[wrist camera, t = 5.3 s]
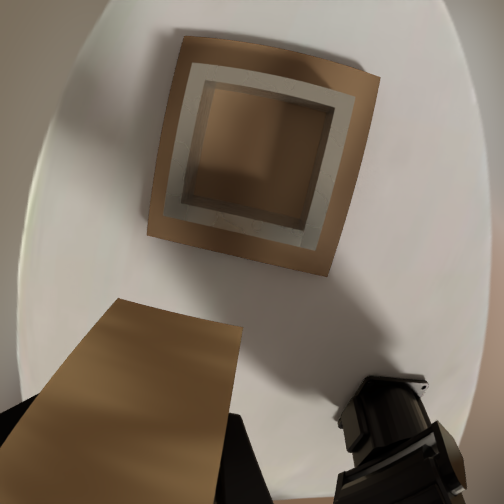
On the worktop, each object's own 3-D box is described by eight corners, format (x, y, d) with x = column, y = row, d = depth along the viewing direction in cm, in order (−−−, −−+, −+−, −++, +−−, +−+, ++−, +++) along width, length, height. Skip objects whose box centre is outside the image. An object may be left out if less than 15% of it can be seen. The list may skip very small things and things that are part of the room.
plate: (374, 81, 15) (380, 77, 14) (324, 269, 19) (327, 277, 18) (189, 41, 15) (184, 35, 14) (153, 229, 19) (146, 235, 18)
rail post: (242, 327, 9) (192, 620, 1) (225, 410, 10) (188, 611, 3) (117, 298, 9) (-37, 509, 1) (124, 384, 10) (40, 557, 3)
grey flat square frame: (343, 103, 14) (355, 96, 12) (310, 235, 17) (315, 250, 15) (204, 73, 14) (192, 62, 12) (177, 205, 17) (162, 215, 15)
